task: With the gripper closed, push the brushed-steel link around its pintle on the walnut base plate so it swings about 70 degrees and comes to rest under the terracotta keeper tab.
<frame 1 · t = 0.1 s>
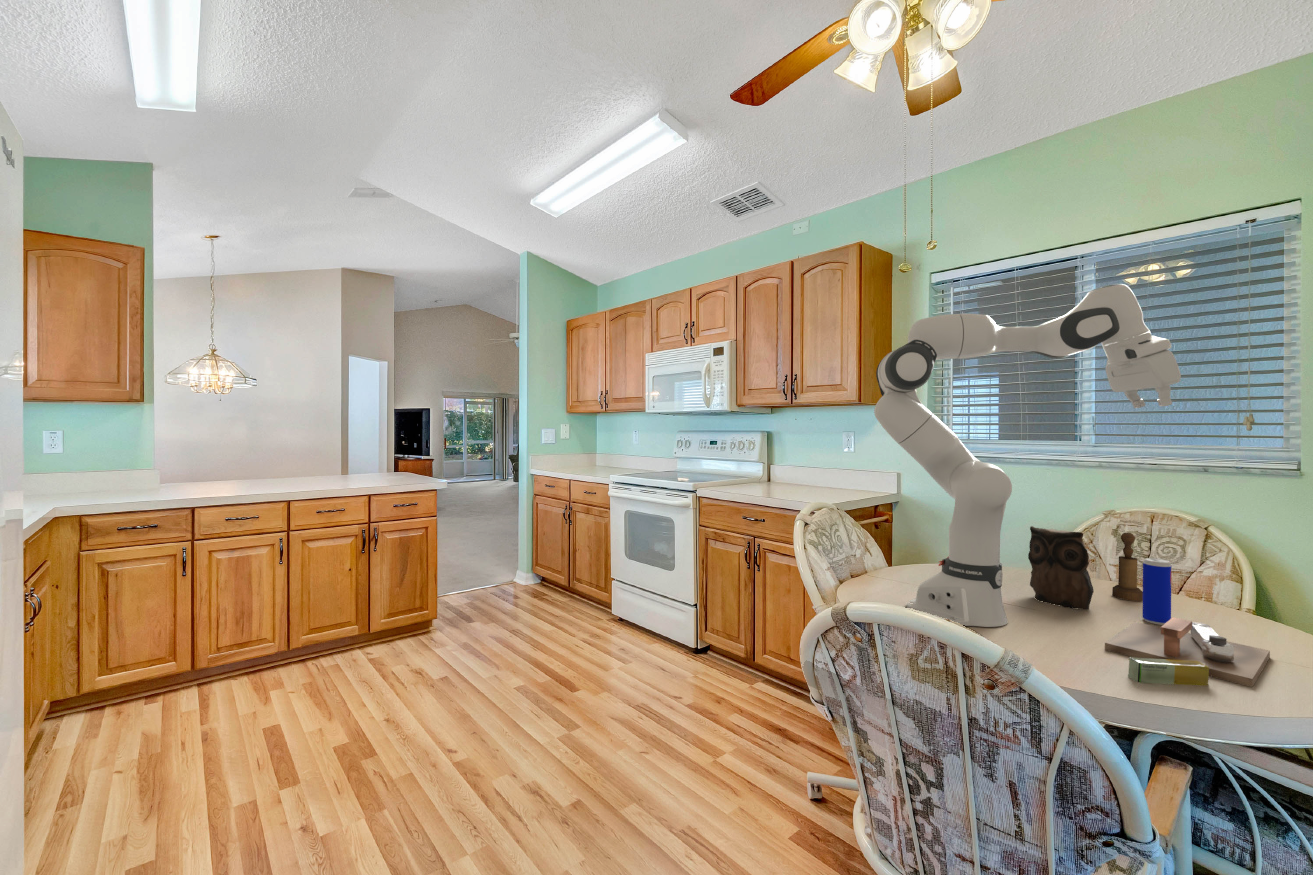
hand: (1152, 406, 129), 52 cm above the table, tool tilted 20°, fingers open, 8 cm apart
owl: (1065, 602, 151), on the table
brown wooden upright piece: (1127, 598, 154), on the table
walnut base plate: (1185, 653, 116), on the table
medication box: (1167, 683, 103), on the table
beverage can: (1156, 622, 135), on the table
steel link: (1209, 640, 115), point 3 cm above the table, hinge at 0.0°
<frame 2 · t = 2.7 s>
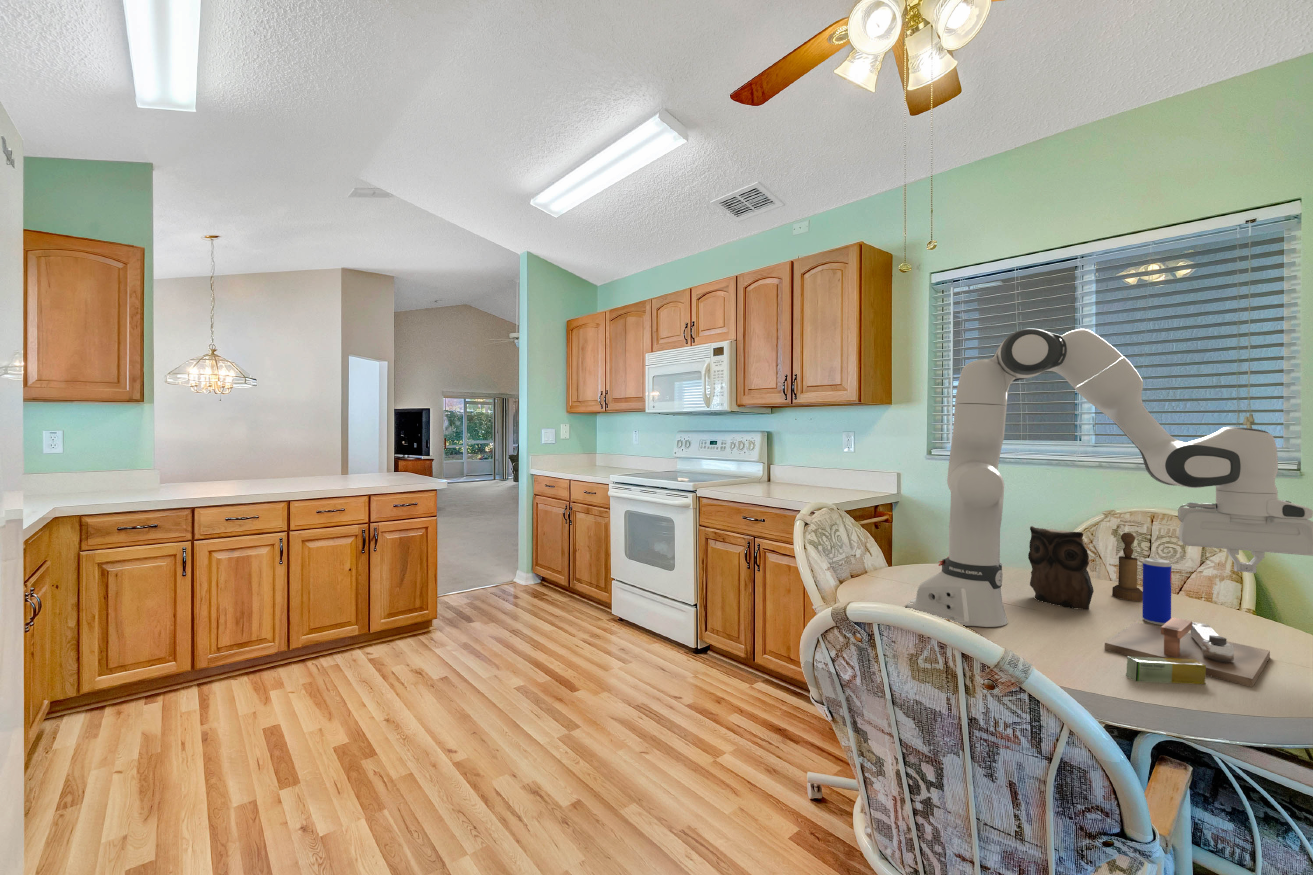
hand: (1245, 571, 116), 17 cm above the table, tool pointing down, fingers closed
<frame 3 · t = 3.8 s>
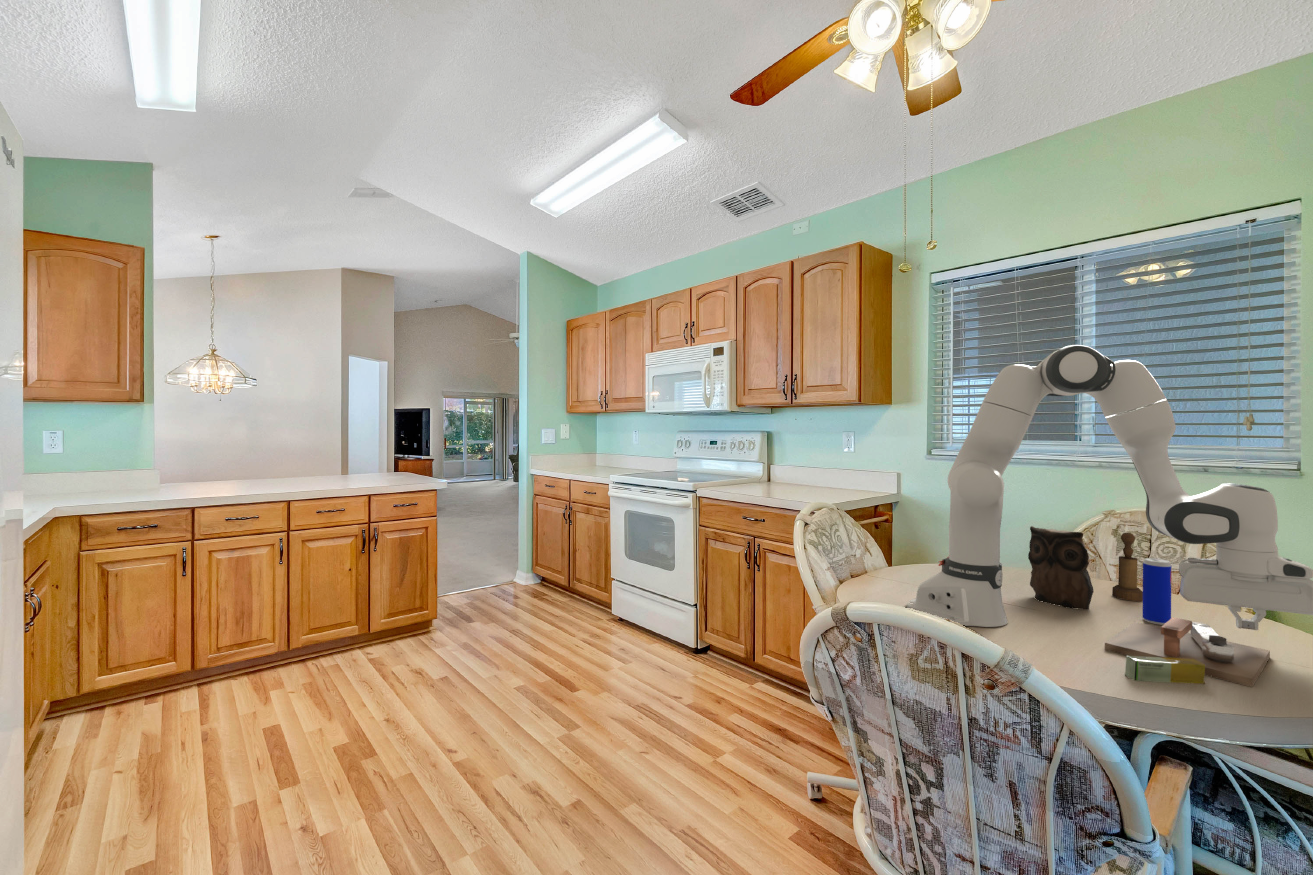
hand: (1247, 628, 116), 5 cm above the table, tool pointing down, fingers closed
nothing on the table moved.
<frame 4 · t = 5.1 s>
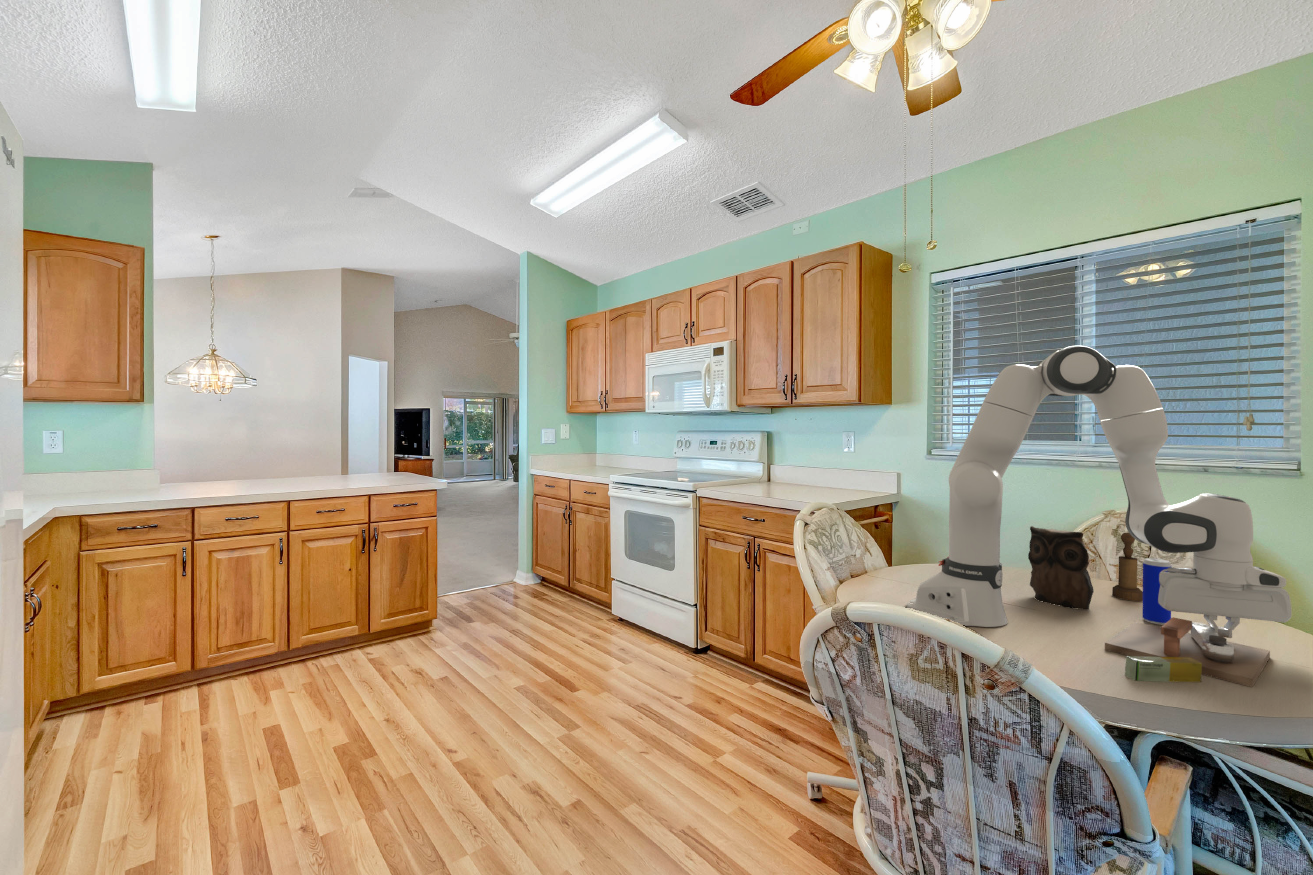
hand: (1221, 636, 118), 3 cm above the table, tool pointing down, fingers closed
steel link: (1209, 640, 115), point 3 cm above the table, hinge at 0.0°, touching gripper
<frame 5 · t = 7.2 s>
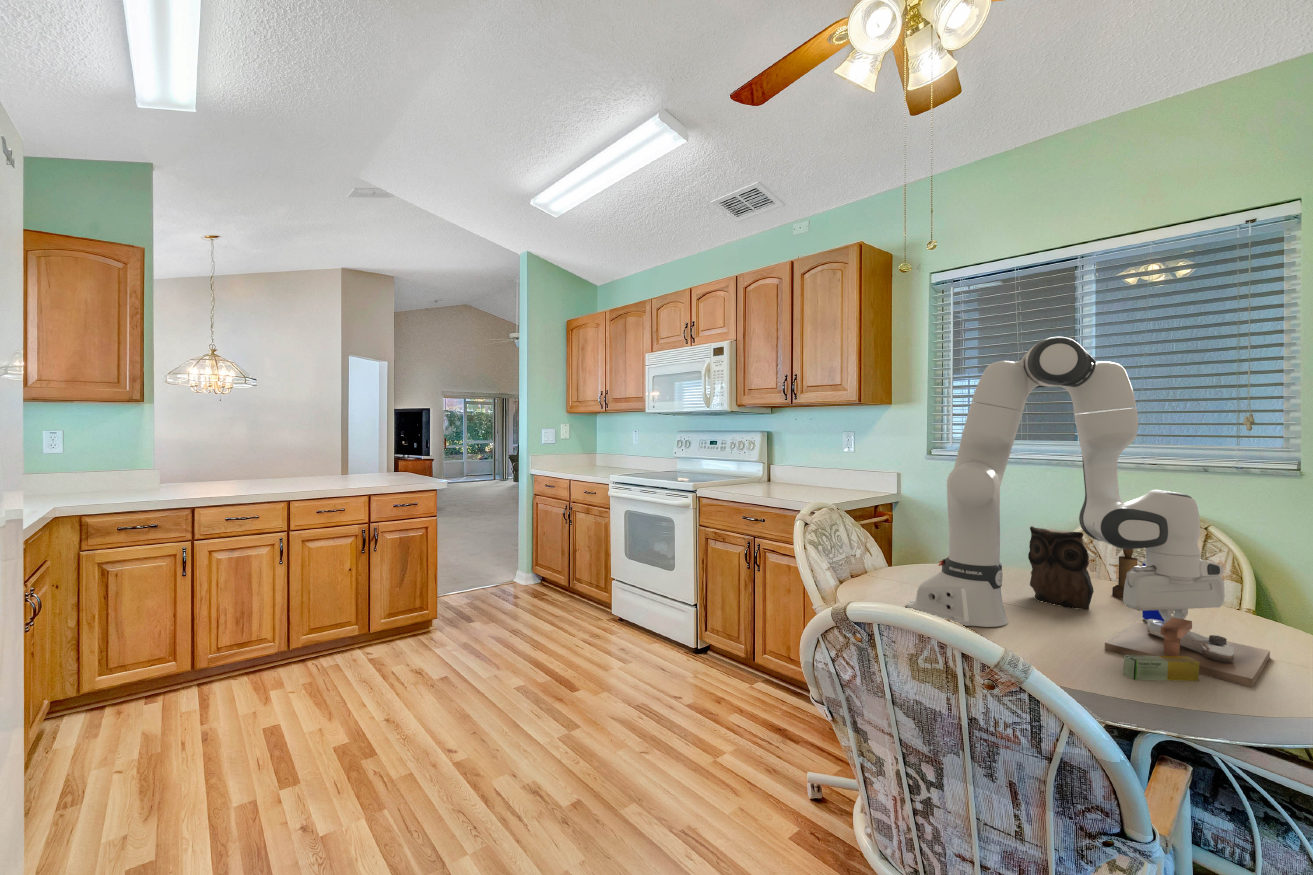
hand: (1173, 628, 121), 3 cm above the table, tool pointing down, fingers closed
steel link: (1186, 638, 116), point 3 cm above the table, hinge at 35.4°, touching gripper
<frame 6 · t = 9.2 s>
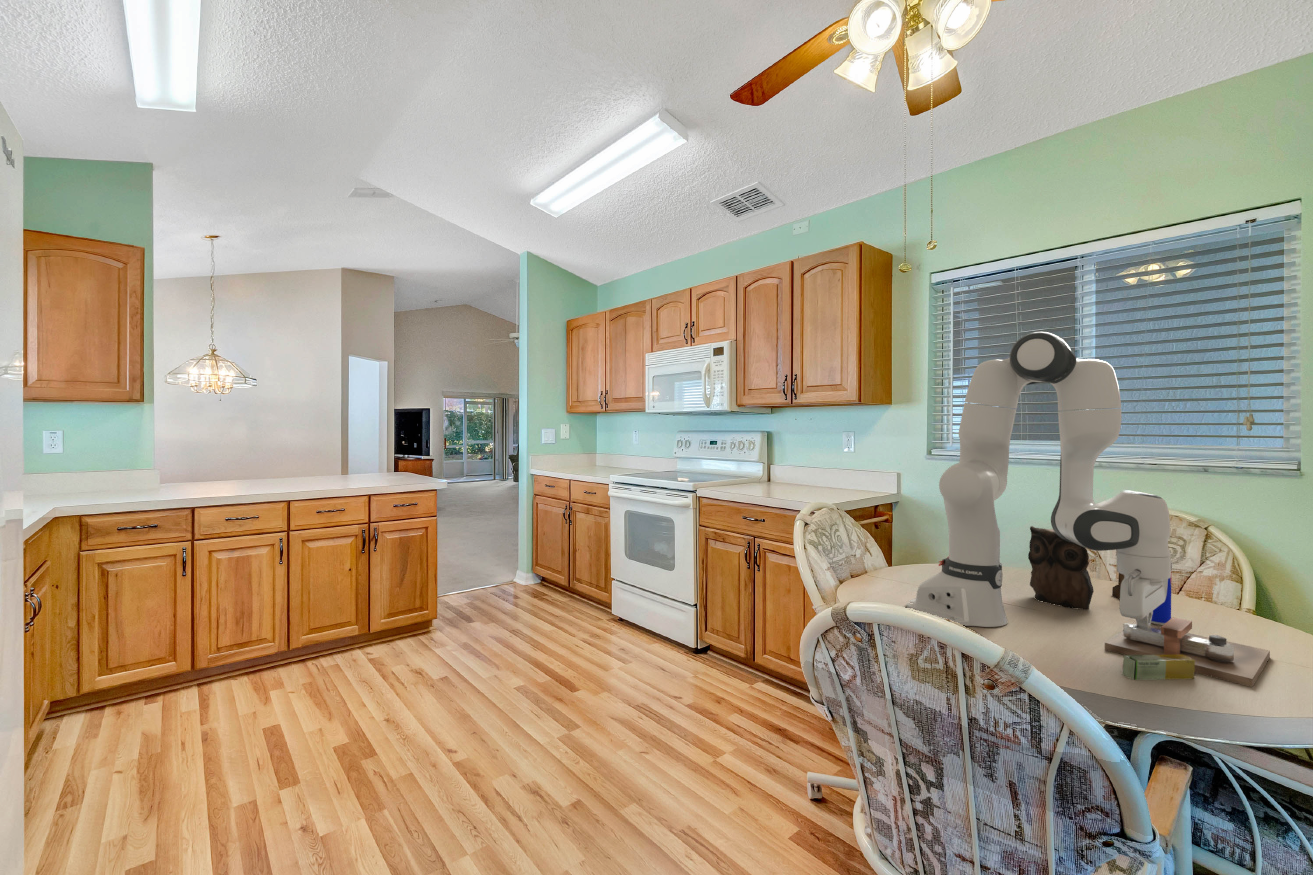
hand: (1143, 630, 120), 3 cm above the table, tool pointing down, fingers closed
steel link: (1175, 641, 114), point 3 cm above the table, hinge at 71.1°, touching gripper
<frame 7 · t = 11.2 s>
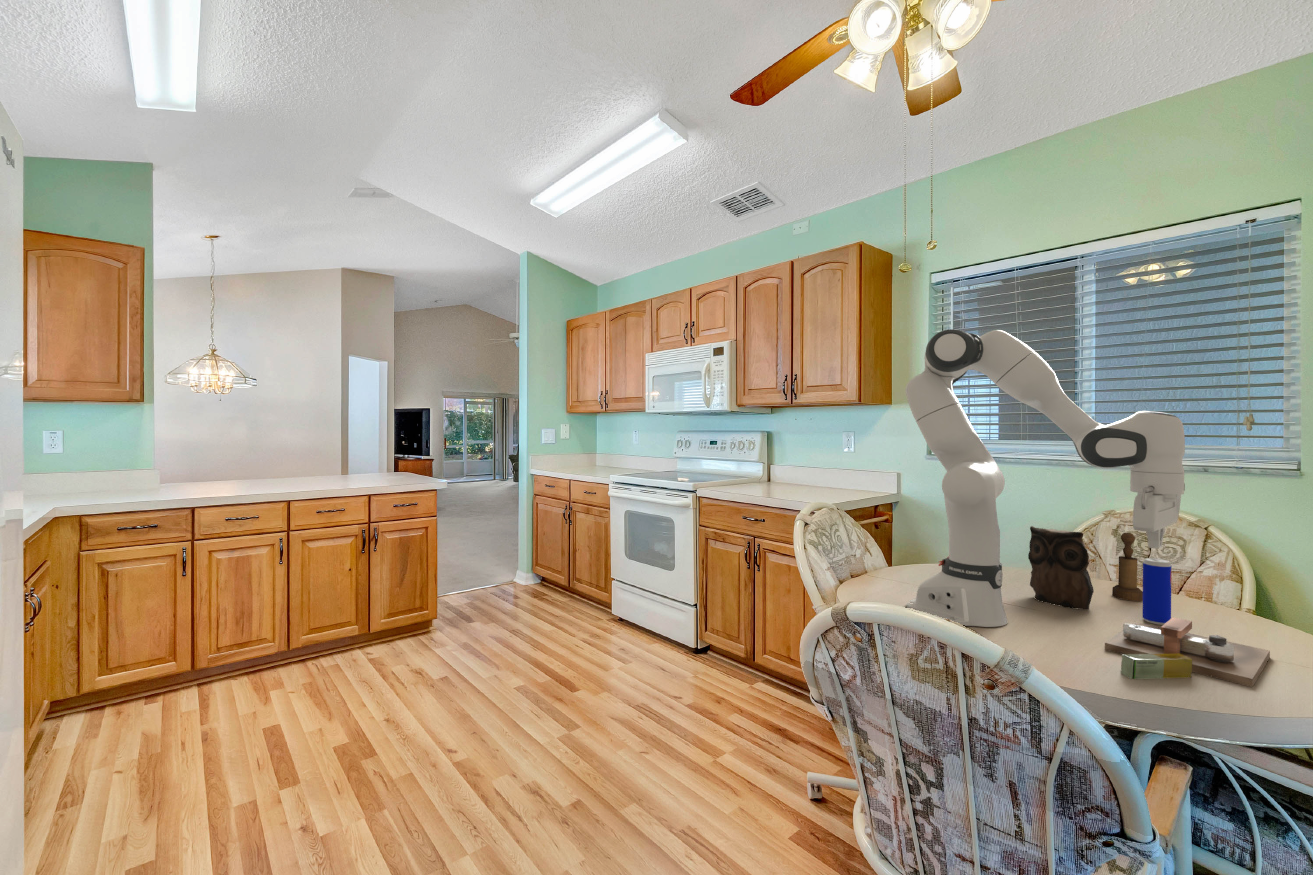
hand: (1155, 547, 123), 21 cm above the table, tool pointing down, fingers closed
steel link: (1175, 641, 114), point 3 cm above the table, hinge at 71.4°
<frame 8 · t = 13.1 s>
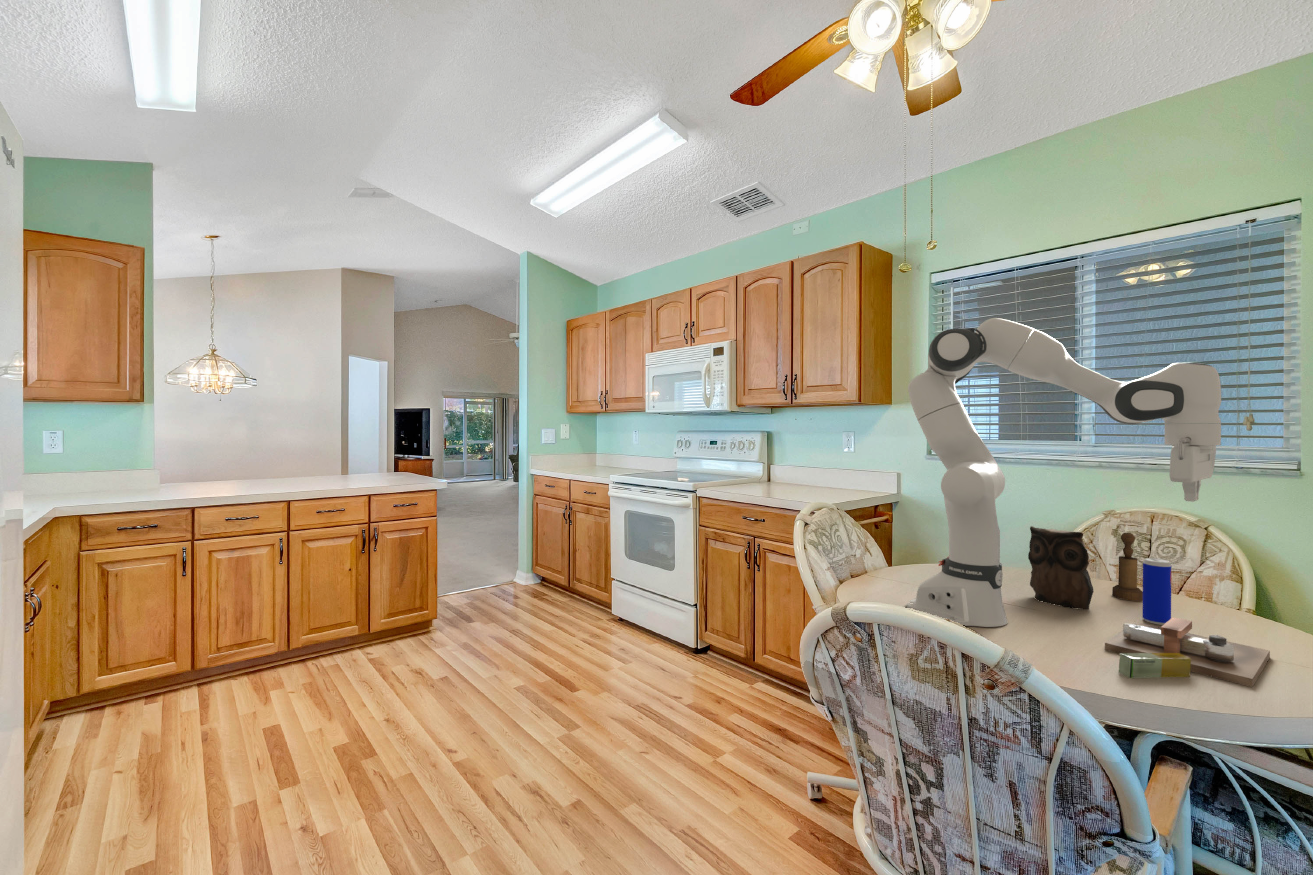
hand: (1191, 500, 121), 31 cm above the table, tool pointing down, fingers closed
at the end: steel link at +71° (first picture: +0°); medication box moved 3.0 cm from its start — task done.
